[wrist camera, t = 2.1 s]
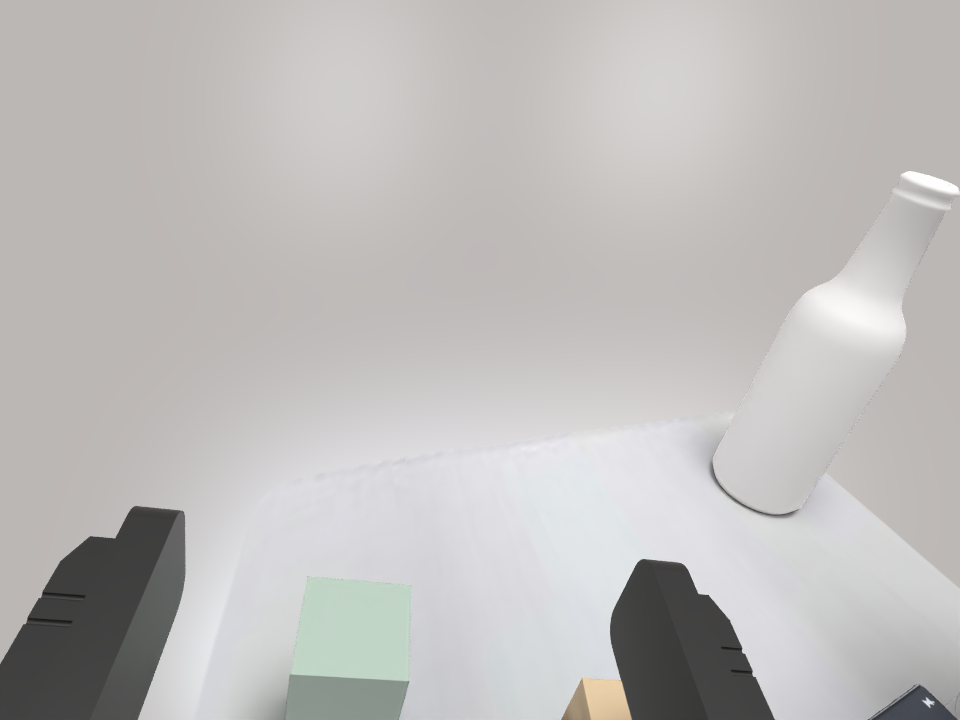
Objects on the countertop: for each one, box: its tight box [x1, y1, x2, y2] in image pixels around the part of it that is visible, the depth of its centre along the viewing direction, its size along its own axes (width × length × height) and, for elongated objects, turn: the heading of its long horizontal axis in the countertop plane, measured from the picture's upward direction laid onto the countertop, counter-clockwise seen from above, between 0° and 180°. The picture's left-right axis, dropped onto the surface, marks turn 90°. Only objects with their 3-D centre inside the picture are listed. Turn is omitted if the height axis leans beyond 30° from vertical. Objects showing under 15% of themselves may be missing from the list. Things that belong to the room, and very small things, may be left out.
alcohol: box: [712, 171, 960, 515], centre depth 55 cm, size 9×9×30 cm
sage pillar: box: [285, 577, 411, 720], centre depth 33 cm, size 5×5×10 cm
